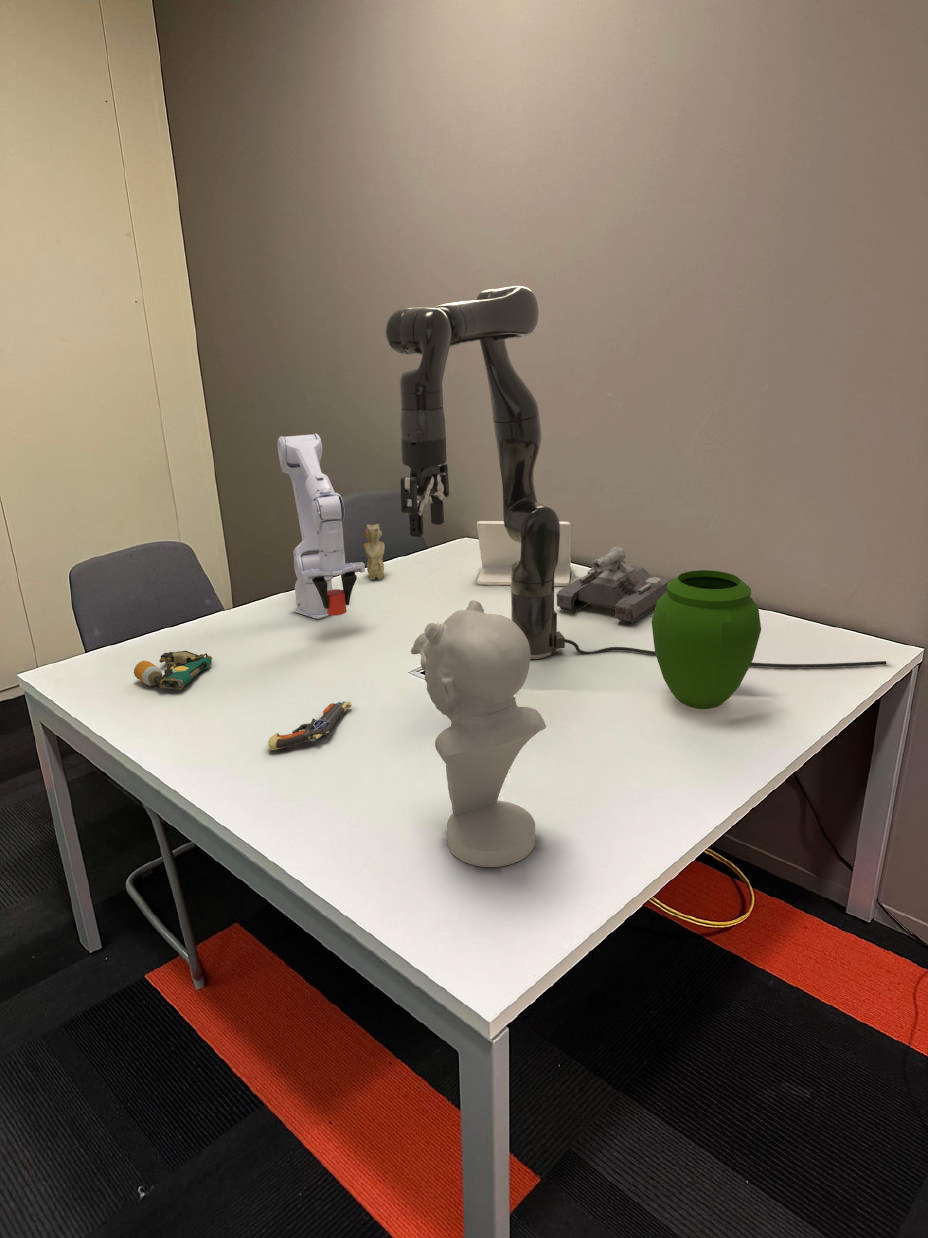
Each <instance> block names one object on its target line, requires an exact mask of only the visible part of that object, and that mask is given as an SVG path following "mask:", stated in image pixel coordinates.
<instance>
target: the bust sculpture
mask: <svg viewBox="0 0 928 1238" xmlns="http://www.w3.org/2000/svg"><path fill="white" fill-rule="evenodd" d="M530 653H531V652H530V646H529V643H528V640H527V638H526V636H525V634H524V633H523V632H522V630H521V629H520V628H519V627H518V626H517V625H516V624H515V623H514V622H513V621H512V620H511V618H508V617H507V616H504V615H503V614H502V615H501V614H496V613H485V609H484V607H483V605H482V603H481V602H480V601H478V600H473V599H472V600H470V601H469V603H468V605H467V607H466V609H460V610H457V611H455V612H453V613H451V615H449V616H448V617H447V618H446V619H445V620H444V622H442V624H441V623H435V622H430V623H428V624H427V625H426V626H425V628H424V632H423V633H421V634H419V635H418V636H417V637H416V638H415V640H414V642H413V645H412V647H411V649H410V654H412V655H420V667H421V669H422V670H423V672H424V681H425V682H426V690H427V693H428V696H429V698H430V701H431V702H432V704H434V706H435V708H436V710H438V711H439V712H440V713H441V714H442V716H446V717H447V718H448V719H449V720H450V726H448V727H446V728H445V729H443V730H442V731H441V732H440V733H439V734H438V735H436V738H435V741H434V748H435V749H436V752H437V753H438V755H439V757H440V758H441V760H442V761H443V762H444V763H445V771H446V781H447V790H448V796H449V800H450V803H451V810H452V813H451V814H450V815H449V817H448V819H447V822H446V844H447V847H448V849H449V851H450V852H451V854H452V855H453V856H454V857H456V858H457V859H459V860H460V861H462V862H463V863H466V864H469V865H471V866H476V867H483V868H498V867H505V866H509V865H512V864H517V862H520V861H521V860H523V859H525V858H527V856H528V855H530V854H531V852H532V851H533V849H535V848H534V847H535V845H536V822H535V821H536V820H535V819H534V817H533V816H532V814H531V813H530V812H529V811H528V810H526V809H525V808H524V807H522V806H520V805H517V804H515V803H513V802H509V801H504V800H499V796H500V793H501V790H502V788H503V785H504V783H505V780H506V778H507V776H508V773H509V771H510V769H511V768H512V765H513V763H514V761H515V760H516V759H517V756H518V755H519V753H520V752H521V750H522V749H523V748H524V747H525V745H526V744H527V743H528V742H529V741H530V740H531V739H532V738H533V737H535V735H537V734H538V733H539V732H541V731H544V730H545V729H546V728H547V725H546V723H545V720H544V718H543V717H542V714H541V713H540V712H539V711H538V710H537V709H535V708H533V707H530V706H518V705H517V701H516V699H517V698H516V696H515V695H516V694H517V693H519V691H521V689H522V688H523V686H524V684H525V683H526V680H527V678H528V675H529V669H530V666H531V659H530V656H531V655H530Z"/></svg>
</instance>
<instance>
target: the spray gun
mask: <svg viewBox="0 0 928 1238" xmlns="http://www.w3.org/2000/svg"><path fill="white" fill-rule="evenodd" d="M212 660H213V657H212V656H211V655H208V653H207V652H205V653H201V654H197V653H194V652H192V651H191V652H190V651H188V650H180V651H169V652H164V653H162V654H161V655H160V658H159V660H158V662H159V663H161V664H163V663H165V664H166V668H165V670H163V672H164V674H163V673H162V669H160V668H159V666H157V665H156V664H154V663H152V662H151V661H149V660H141V661H139V662H138V663H136V665H135V666H134V668H133V675H134V677H135V678H136V679H137V680H139V681H140V682H142V683H143V684H145V685H147V686H155V685H157V686H158V687H160V688H161V689H171V690H172V689H173V690H182V689H184V687H185V686H186V685H188V684H189V683H190V682H191V681H192V679H193V678H195V677H196V676H197V675H198V674H200V673H201V672H202V671H203V670H206V669H208V668H209V667H210V666H211V665H212V662H213V661H212ZM178 663H179V664H181V665H179V666H176V665H177V664H178Z"/></svg>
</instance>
